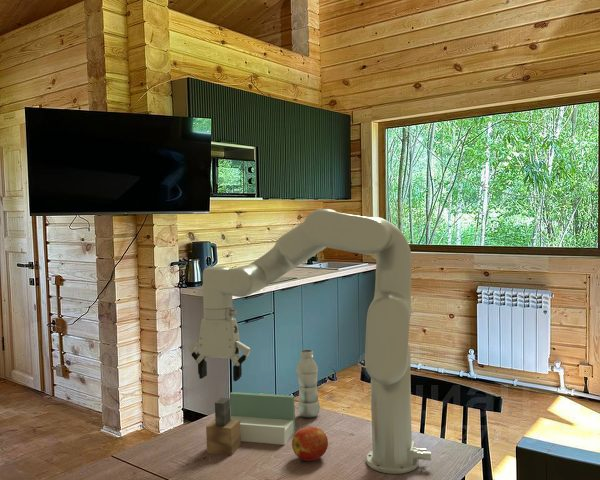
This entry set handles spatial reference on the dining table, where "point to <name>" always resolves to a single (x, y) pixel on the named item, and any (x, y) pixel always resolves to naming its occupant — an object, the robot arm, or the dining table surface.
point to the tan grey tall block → (223, 430)
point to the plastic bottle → (307, 385)
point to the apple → (309, 443)
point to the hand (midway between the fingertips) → (219, 378)
